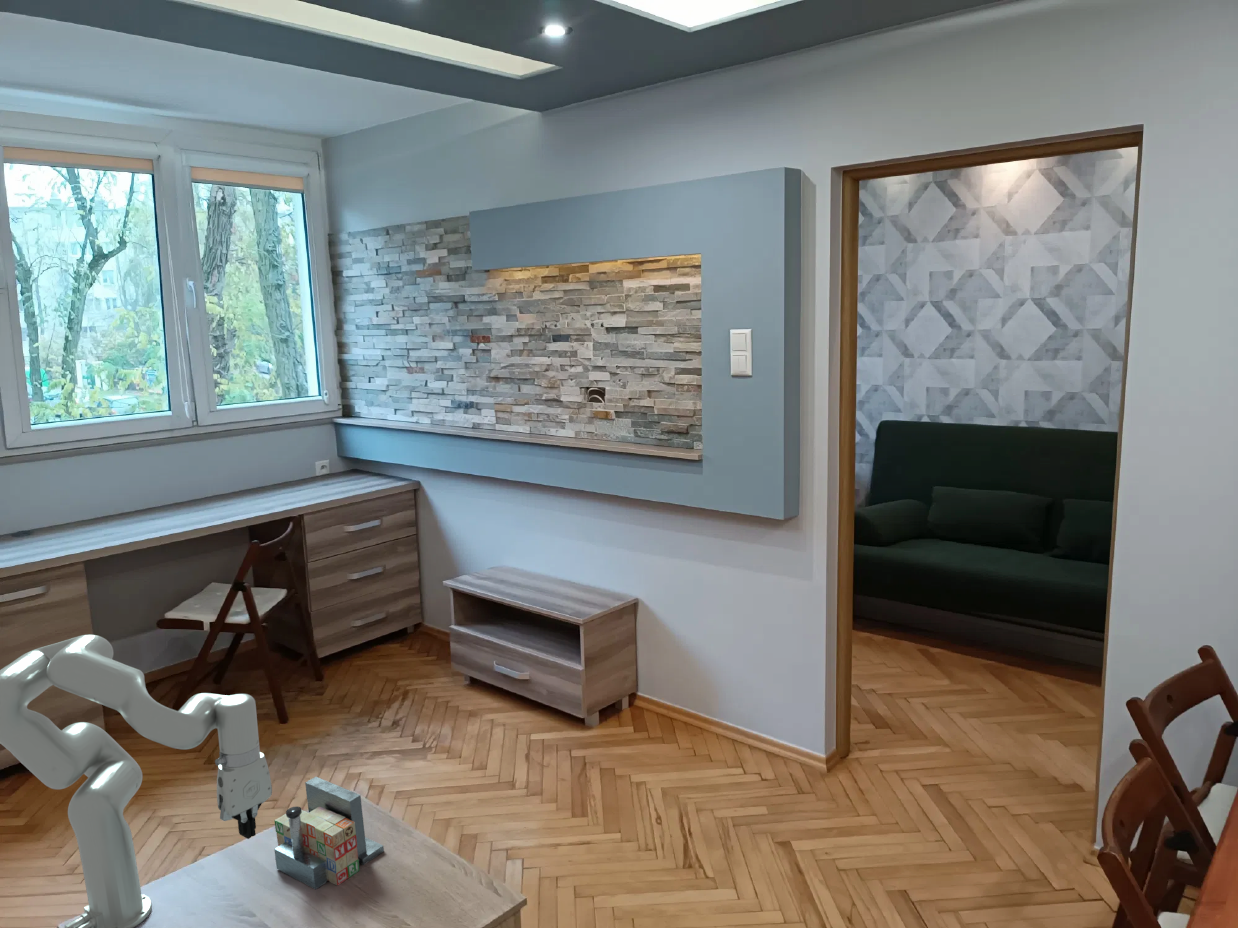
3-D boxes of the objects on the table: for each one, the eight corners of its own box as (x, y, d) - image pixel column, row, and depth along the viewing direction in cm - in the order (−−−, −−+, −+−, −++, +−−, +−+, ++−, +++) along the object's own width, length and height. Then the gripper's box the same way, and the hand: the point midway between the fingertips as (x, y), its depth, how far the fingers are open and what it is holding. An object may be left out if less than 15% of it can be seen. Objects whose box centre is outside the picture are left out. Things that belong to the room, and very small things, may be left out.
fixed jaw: (357, 868, 199) (350, 803, 196) (308, 844, 209) (300, 782, 206) (384, 851, 205) (377, 787, 202) (334, 828, 215) (327, 767, 212)
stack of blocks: (278, 855, 206) (272, 807, 203) (301, 841, 211) (295, 794, 208) (337, 886, 193) (331, 835, 191) (360, 870, 199) (355, 820, 196)
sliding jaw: (315, 889, 192) (307, 823, 189) (276, 868, 200) (268, 804, 197) (328, 880, 195) (321, 814, 192) (290, 860, 203) (282, 797, 200)
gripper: (216, 775, 175) (225, 859, 178) (282, 744, 187) (289, 823, 190) (195, 764, 179) (204, 846, 182) (261, 735, 191) (268, 812, 195)
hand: (247, 834), depth 186 cm, fingers closed
